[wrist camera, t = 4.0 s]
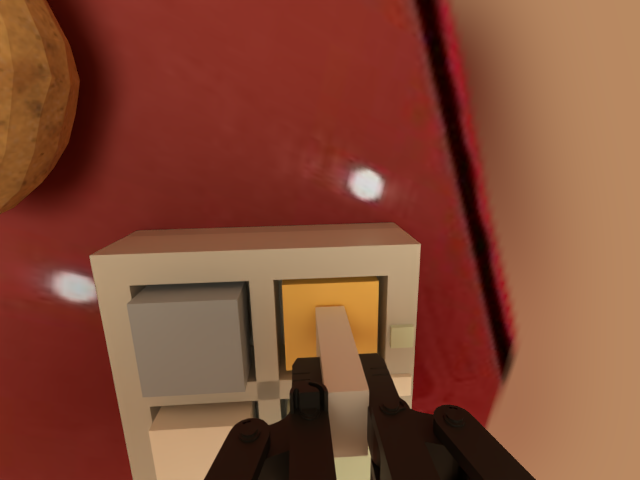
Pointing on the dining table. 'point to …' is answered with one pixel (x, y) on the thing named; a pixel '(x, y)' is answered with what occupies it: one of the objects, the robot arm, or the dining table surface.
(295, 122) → the dining table surface
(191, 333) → the key slate
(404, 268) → the keypad
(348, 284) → the key amber
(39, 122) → the potato
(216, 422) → the key ivory
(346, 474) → the key sage
